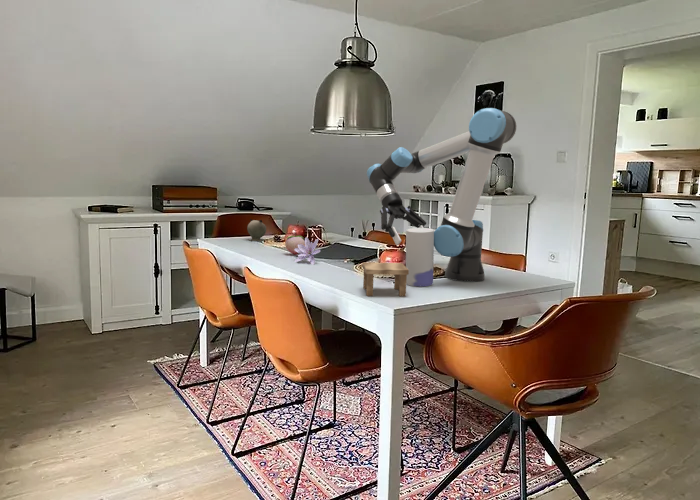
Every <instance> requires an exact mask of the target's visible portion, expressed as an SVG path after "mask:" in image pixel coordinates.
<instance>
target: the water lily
mask: <svg viewBox="0 0 700 500" xmlns="http://www.w3.org/2000/svg"><path fill="white" fill-rule="evenodd" d="M304 242H305V246H304V245H302V244H298V248H295V249H294V250H295V251H296V252H298V254H297V258H296V259H294V261H293V263H297V262H301V261H304V260H305V259H306V258H307V261H308V262H309V263H310V264H311V265H313V266H314V265H315V263H316V261H315V260H316V259H315V256H314V255H316V254H317V255H318V254H319V253H320V252H321V249H316V247H317V246H318V244H319V238H317V239H315V240H314V242H313V241H310V240H309V238H308V237H307V236H306V237H305V238H304Z"/></svg>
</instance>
